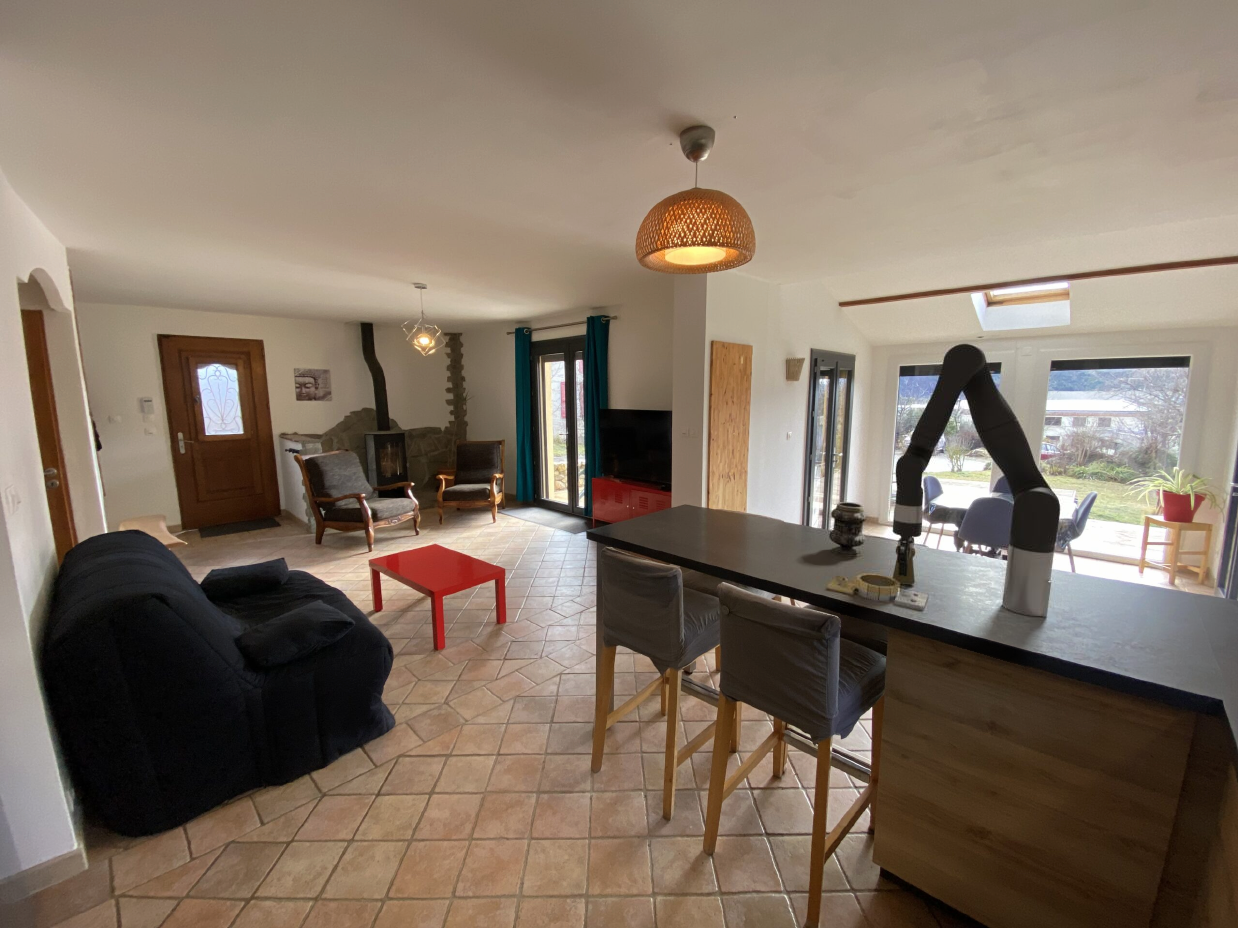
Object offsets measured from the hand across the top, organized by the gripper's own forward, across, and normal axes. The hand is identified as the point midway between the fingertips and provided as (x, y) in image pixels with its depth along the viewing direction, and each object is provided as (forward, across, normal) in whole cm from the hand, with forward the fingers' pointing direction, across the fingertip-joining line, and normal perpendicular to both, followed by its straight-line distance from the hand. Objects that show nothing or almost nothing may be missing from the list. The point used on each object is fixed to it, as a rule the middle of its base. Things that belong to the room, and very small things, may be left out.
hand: (903, 573), depth 151 cm
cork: (+2, 0, 0) cm, 2 cm away
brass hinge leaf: (+3, -14, +8) cm, 16 cm away
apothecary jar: (+3, +21, +21) cm, 30 cm away
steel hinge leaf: (+3, -14, +1) cm, 14 cm away
